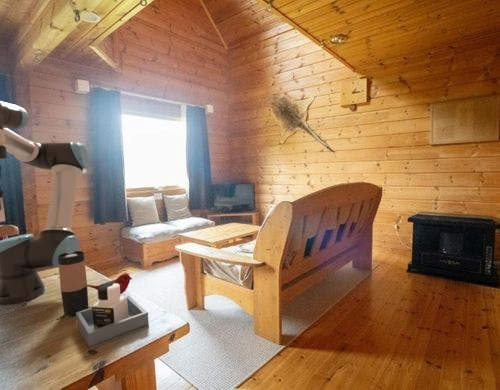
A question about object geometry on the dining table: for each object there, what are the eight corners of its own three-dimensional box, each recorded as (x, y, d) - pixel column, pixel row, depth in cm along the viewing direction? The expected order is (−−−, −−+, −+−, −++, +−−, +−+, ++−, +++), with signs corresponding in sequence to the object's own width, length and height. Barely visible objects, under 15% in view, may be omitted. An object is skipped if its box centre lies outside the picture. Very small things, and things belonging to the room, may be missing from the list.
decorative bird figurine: (132, 301, 108) (130, 274, 107) (83, 302, 108) (81, 276, 107) (135, 297, 110) (133, 271, 109) (88, 299, 111) (85, 273, 110)
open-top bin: (77, 326, 92) (75, 312, 91) (130, 308, 102) (129, 296, 102) (90, 349, 80) (88, 333, 79) (148, 326, 90) (147, 312, 90)
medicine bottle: (93, 328, 88) (89, 289, 87) (108, 316, 95) (105, 280, 94) (115, 330, 87) (111, 290, 86) (129, 317, 94) (126, 281, 93)
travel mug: (77, 318, 97) (71, 258, 95) (57, 316, 98) (51, 257, 96) (94, 307, 104) (89, 251, 102) (75, 305, 106) (70, 250, 104)
